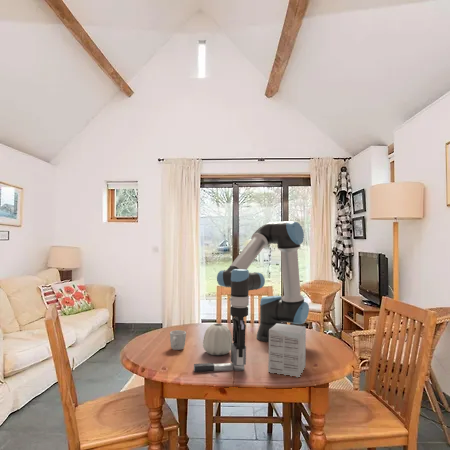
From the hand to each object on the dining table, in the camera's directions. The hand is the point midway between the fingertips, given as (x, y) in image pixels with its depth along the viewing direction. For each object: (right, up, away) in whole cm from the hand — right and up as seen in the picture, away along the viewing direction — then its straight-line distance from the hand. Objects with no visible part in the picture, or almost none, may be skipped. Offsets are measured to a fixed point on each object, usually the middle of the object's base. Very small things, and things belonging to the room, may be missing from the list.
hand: (238, 362), depth 149 cm
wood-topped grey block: (0, 0, 0) cm, 0 cm away
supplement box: (+20, -3, 0) cm, 21 cm away
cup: (-29, -4, +25) cm, 38 cm away
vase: (-9, -4, +21) cm, 23 cm away
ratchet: (-8, -3, -2) cm, 8 cm away
